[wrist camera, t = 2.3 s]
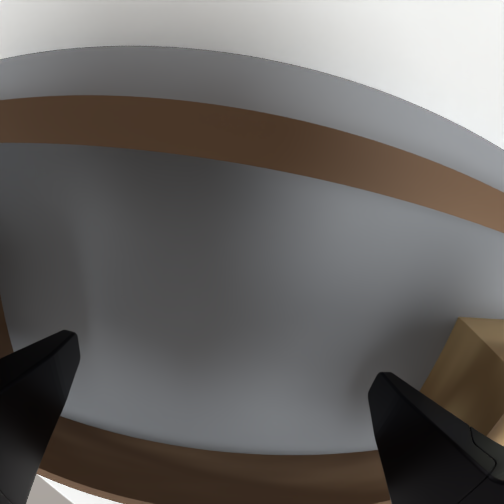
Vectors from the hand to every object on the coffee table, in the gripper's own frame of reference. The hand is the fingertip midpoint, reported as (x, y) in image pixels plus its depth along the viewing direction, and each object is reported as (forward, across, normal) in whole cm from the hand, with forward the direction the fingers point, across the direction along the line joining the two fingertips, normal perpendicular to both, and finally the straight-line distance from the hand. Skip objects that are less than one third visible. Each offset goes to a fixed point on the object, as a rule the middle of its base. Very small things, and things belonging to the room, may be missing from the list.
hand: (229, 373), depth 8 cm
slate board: (+2, -8, 0) cm, 9 cm away
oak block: (+1, -10, 0) cm, 10 cm away
